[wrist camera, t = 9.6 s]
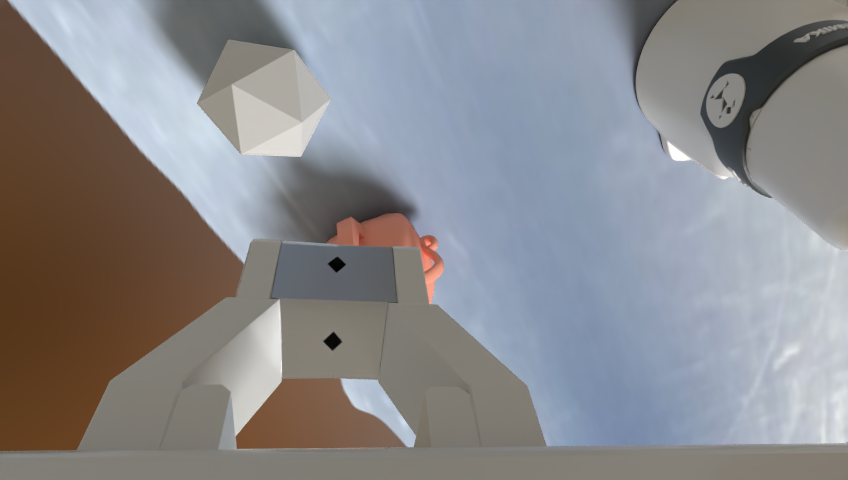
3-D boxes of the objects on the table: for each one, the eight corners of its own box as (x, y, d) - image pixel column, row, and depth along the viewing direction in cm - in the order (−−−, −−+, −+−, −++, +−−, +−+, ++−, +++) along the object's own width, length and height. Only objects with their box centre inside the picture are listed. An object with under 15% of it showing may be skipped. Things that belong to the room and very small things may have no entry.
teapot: (408, 300, 60) (416, 367, 53) (306, 272, 57) (298, 340, 49) (454, 220, 55) (471, 282, 47) (343, 183, 51) (341, 243, 43)
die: (213, 16, 42) (155, 119, 38) (304, 2, 38) (250, 115, 34) (277, 90, 49) (234, 184, 45) (360, 84, 45) (320, 186, 41)
